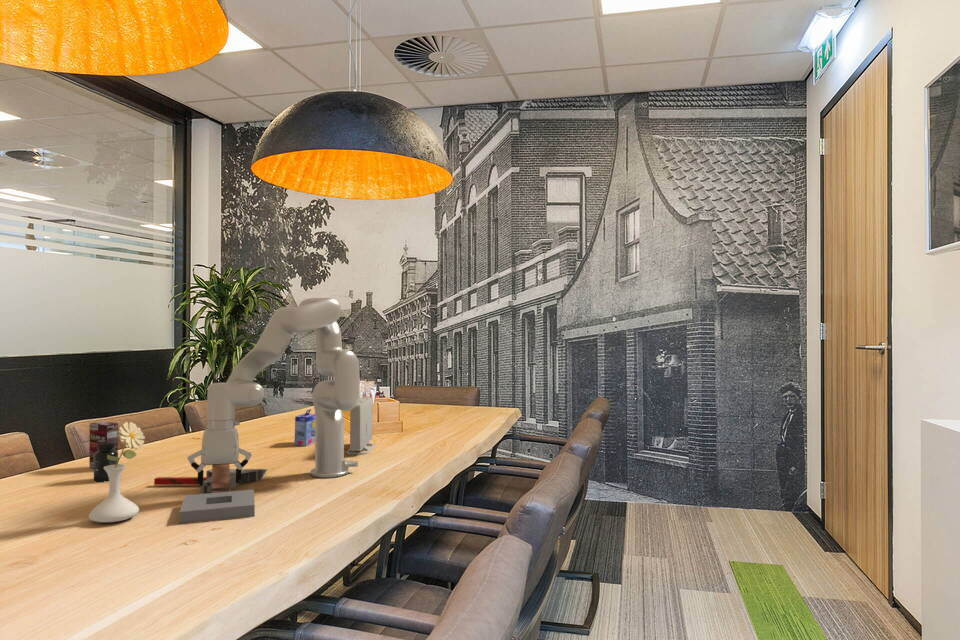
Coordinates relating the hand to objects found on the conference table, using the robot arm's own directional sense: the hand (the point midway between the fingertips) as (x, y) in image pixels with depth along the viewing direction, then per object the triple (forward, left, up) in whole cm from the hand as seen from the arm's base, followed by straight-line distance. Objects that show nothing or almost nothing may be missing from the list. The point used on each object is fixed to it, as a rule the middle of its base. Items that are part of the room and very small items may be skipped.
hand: (219, 483), depth 182 cm
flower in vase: (+24, +12, -4) cm, 27 cm away
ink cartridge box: (-31, -73, -4) cm, 80 cm away
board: (0, +14, -4) cm, 14 cm away
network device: (-51, -54, -4) cm, 74 cm away
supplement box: (+39, -52, -4) cm, 65 cm away
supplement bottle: (+35, -34, -4) cm, 49 cm away
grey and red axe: (+4, -18, -5) cm, 19 cm away
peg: (0, 0, -4) cm, 4 cm away
